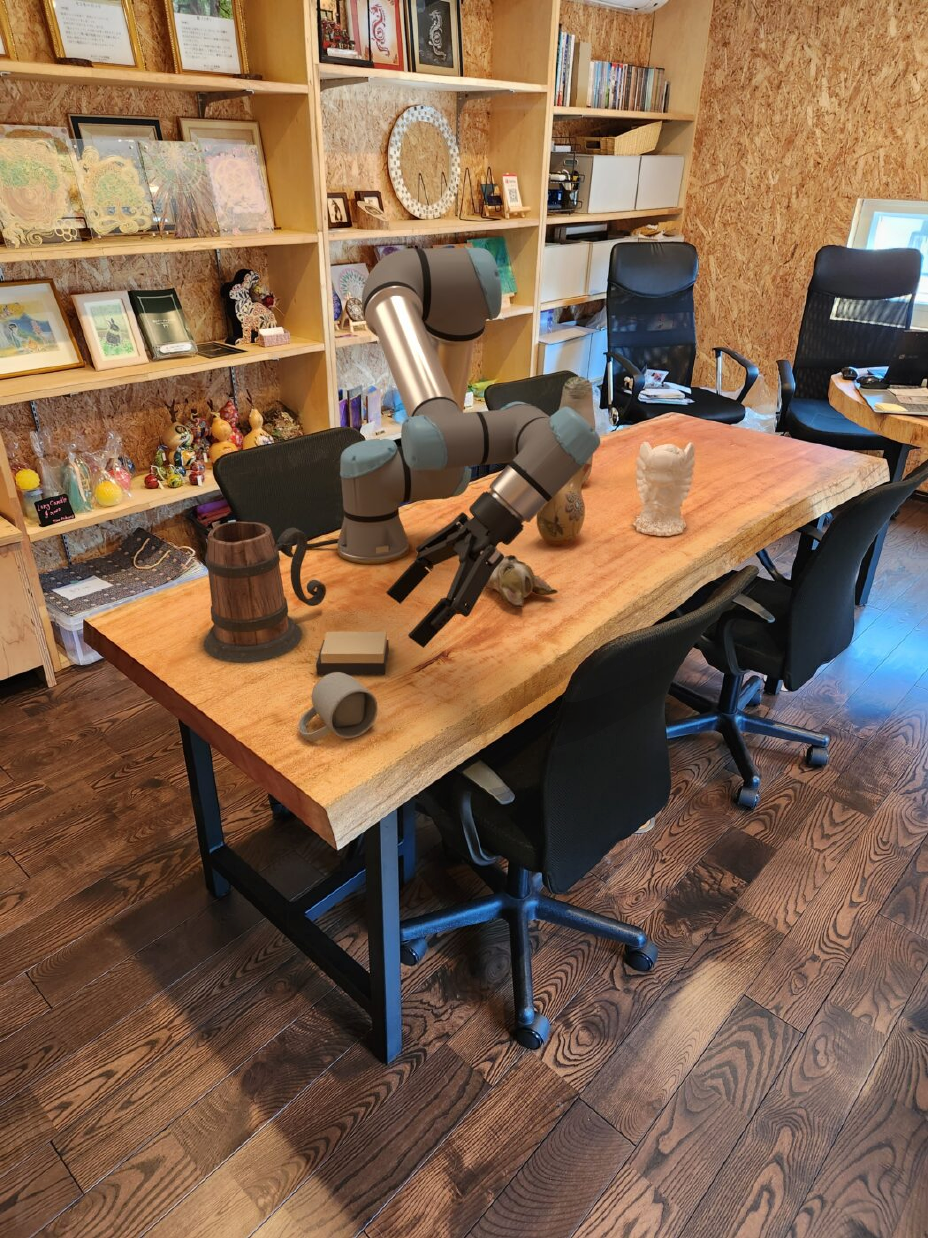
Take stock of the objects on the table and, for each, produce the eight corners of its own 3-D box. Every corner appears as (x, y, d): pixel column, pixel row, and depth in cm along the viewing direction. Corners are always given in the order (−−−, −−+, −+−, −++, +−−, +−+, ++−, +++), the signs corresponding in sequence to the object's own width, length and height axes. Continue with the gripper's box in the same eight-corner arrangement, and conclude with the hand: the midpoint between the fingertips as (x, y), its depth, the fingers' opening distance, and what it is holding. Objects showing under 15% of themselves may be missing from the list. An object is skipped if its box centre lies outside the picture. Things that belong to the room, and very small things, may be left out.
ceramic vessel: (548, 558, 175) (555, 442, 164) (518, 546, 181) (522, 433, 170) (598, 538, 185) (608, 428, 173) (568, 527, 191) (575, 420, 179)
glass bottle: (546, 481, 221) (551, 374, 208) (581, 477, 224) (588, 371, 210) (560, 493, 212) (567, 382, 199) (596, 489, 215) (606, 379, 202)
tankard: (234, 673, 134) (217, 560, 125) (186, 636, 145) (167, 529, 135) (351, 627, 148) (344, 522, 139) (300, 596, 159) (290, 497, 150)
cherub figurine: (623, 533, 188) (631, 446, 179) (631, 514, 199) (639, 432, 189) (681, 540, 184) (693, 452, 175) (687, 521, 195) (698, 437, 186)
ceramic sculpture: (507, 535, 163) (563, 563, 153) (504, 574, 167) (558, 603, 158) (466, 550, 157) (522, 580, 147) (465, 590, 161) (519, 621, 152)
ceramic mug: (354, 702, 126) (350, 659, 123) (380, 728, 120) (377, 684, 117) (289, 726, 121) (283, 682, 117) (314, 754, 115) (308, 709, 112)
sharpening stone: (317, 675, 134) (315, 653, 132) (324, 650, 141) (322, 630, 139) (385, 675, 134) (384, 654, 132) (388, 650, 141) (388, 630, 139)
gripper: (559, 557, 105) (446, 676, 108) (494, 494, 126) (402, 595, 129) (521, 522, 101) (405, 647, 104) (461, 463, 122) (367, 568, 125)
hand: (403, 619), depth 116 cm, fingers open, 13 cm apart
